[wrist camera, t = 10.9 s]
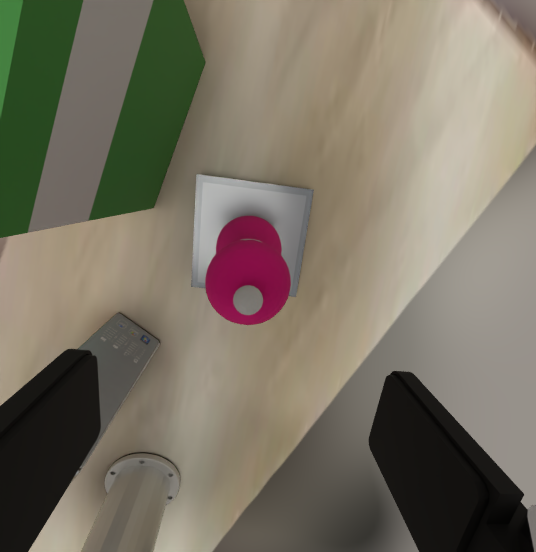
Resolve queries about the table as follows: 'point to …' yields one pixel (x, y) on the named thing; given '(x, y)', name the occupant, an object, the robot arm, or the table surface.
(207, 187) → the slate stand
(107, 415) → the hard drive box
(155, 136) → the hardback book
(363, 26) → the table surface
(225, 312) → the pepper mill
